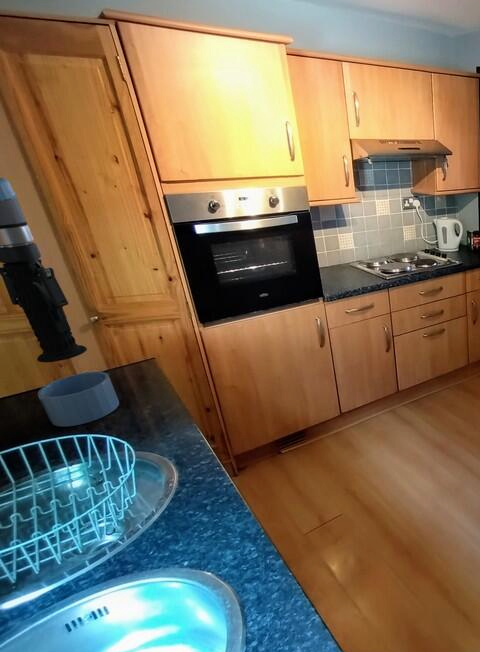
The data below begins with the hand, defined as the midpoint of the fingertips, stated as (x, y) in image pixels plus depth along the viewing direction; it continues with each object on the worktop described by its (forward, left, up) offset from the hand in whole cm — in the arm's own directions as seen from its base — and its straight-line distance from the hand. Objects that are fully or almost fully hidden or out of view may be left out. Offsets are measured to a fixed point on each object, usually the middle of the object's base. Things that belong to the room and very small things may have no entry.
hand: (52, 330), depth 120 cm
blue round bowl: (+1, -1, -25) cm, 25 cm away
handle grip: (0, 0, -7) cm, 7 cm away
